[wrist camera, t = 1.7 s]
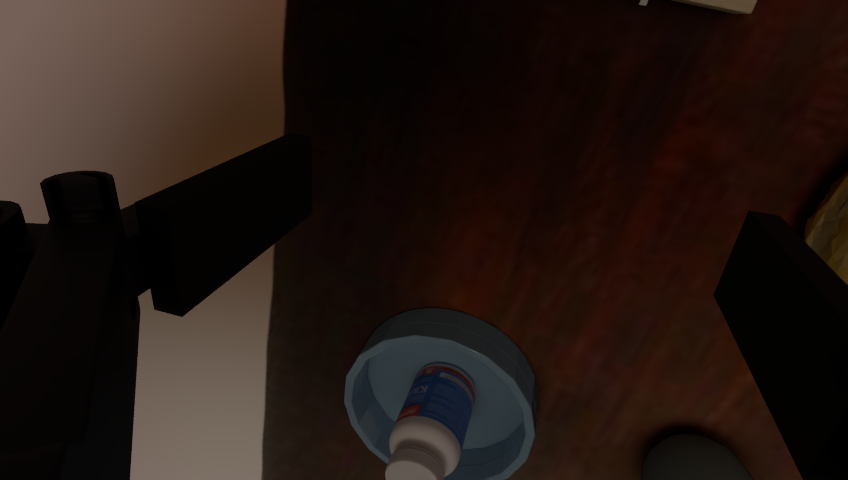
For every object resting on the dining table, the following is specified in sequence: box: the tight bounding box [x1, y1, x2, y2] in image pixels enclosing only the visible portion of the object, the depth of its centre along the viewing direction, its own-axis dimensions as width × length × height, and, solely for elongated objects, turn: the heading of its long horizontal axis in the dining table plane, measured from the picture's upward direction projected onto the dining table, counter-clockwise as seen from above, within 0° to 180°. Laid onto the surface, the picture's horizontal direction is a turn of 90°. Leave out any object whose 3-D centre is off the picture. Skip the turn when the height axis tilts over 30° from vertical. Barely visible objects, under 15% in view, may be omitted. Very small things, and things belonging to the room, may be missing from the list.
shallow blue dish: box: [344, 308, 538, 480], centre depth 41 cm, size 15×16×4 cm
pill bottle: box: [385, 363, 476, 480], centre depth 38 cm, size 6×5×10 cm
